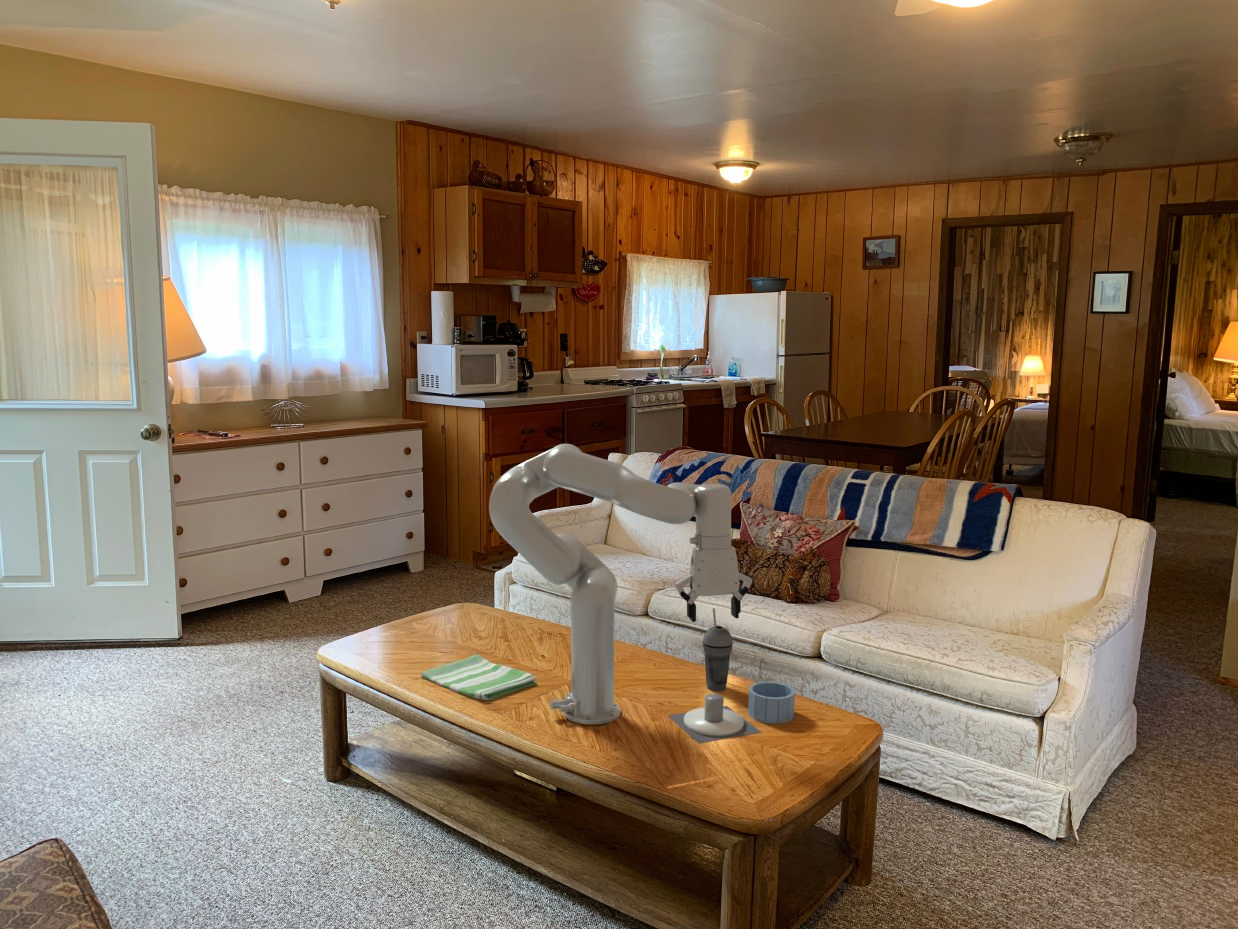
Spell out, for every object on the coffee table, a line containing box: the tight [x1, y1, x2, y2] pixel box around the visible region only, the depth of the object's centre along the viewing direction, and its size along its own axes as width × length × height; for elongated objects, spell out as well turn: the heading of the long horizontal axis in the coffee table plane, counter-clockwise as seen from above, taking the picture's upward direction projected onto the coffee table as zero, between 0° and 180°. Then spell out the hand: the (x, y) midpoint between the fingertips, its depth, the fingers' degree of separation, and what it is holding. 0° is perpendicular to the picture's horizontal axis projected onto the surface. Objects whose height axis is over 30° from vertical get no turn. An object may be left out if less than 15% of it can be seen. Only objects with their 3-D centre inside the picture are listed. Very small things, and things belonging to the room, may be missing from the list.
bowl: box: [747, 680, 796, 725], centre depth 207 cm, size 10×10×6 cm
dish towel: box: [420, 653, 538, 702], centre depth 226 cm, size 18×23×3 cm
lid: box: [684, 693, 745, 736], centre depth 202 cm, size 13×13×6 cm
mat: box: [667, 705, 762, 744], centre depth 202 cm, size 15×15×1 cm
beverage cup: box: [702, 607, 734, 692], centre depth 221 cm, size 7×7×20 cm
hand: (713, 618), depth 202 cm, fingers open, 9 cm apart
